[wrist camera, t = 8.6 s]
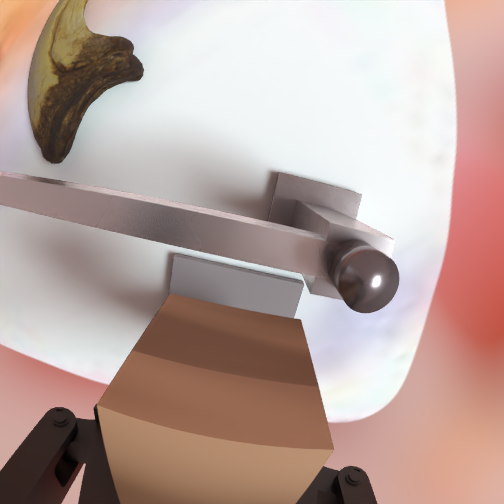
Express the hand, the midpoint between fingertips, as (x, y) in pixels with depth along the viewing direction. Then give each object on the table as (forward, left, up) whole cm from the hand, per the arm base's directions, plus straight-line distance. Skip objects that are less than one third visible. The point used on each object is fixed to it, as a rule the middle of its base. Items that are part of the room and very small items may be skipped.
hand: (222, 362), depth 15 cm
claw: (-14, +19, -5) cm, 24 cm away
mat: (0, 0, -4) cm, 4 cm away
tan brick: (0, +2, -1) cm, 2 cm away
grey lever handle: (-4, +8, -4) cm, 10 cm away
